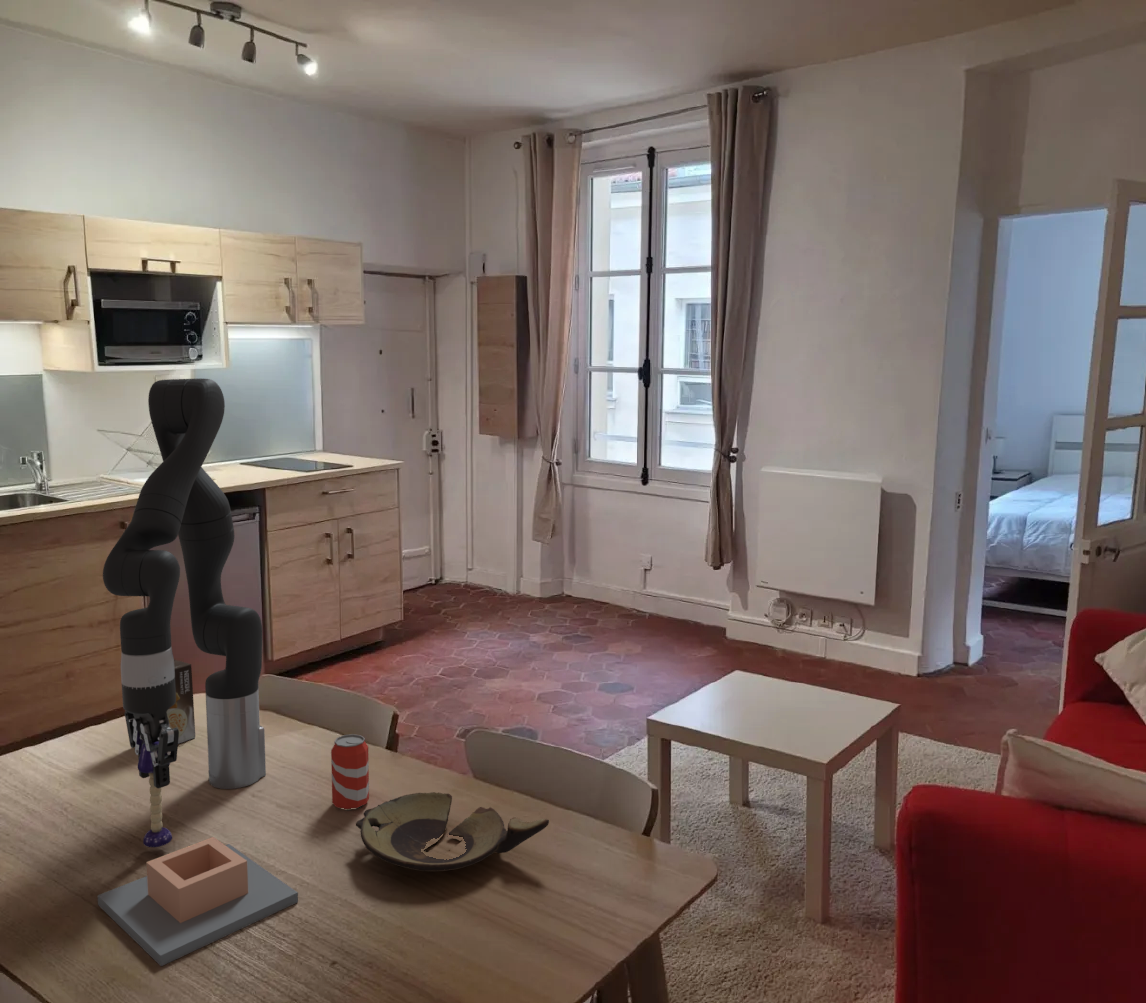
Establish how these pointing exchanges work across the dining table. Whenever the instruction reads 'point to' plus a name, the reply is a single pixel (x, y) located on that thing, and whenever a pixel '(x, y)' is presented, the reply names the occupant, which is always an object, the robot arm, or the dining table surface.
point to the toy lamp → (153, 804)
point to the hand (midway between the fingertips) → (154, 780)
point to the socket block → (195, 899)
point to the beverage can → (350, 772)
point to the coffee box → (183, 703)
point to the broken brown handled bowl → (437, 832)
